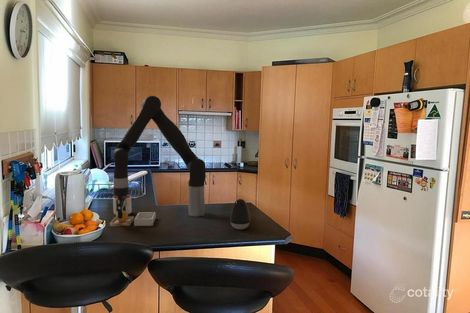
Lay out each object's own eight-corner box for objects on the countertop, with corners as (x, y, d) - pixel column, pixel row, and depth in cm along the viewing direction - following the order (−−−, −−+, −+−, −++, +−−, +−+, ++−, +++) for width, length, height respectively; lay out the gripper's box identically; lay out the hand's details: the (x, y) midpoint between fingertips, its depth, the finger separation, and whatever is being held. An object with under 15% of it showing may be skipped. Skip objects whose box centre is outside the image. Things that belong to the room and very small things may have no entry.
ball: (129, 219, 180) (128, 209, 179) (126, 223, 174) (126, 212, 173) (117, 220, 179) (117, 209, 178) (115, 223, 173) (114, 212, 172)
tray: (133, 219, 183) (133, 216, 183) (129, 225, 171) (129, 223, 171) (115, 219, 182) (115, 217, 182) (109, 226, 170) (109, 223, 170)
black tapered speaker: (233, 232, 163) (233, 201, 161) (227, 225, 173) (228, 197, 171) (252, 230, 166) (253, 200, 164) (246, 224, 176) (246, 196, 174)
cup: (126, 216, 188) (125, 199, 187) (110, 215, 190) (109, 198, 189) (134, 212, 198) (134, 195, 197) (119, 210, 200) (119, 194, 199)
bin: (155, 218, 185) (155, 212, 185) (152, 225, 172) (152, 219, 171) (138, 218, 184) (138, 212, 184) (134, 226, 171) (134, 219, 170)
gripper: (125, 188, 168) (126, 219, 169) (131, 183, 182) (131, 212, 183) (110, 189, 167) (111, 220, 169) (117, 183, 181) (117, 212, 183)
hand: (122, 216), depth 176 cm, fingers open, 8 cm apart
